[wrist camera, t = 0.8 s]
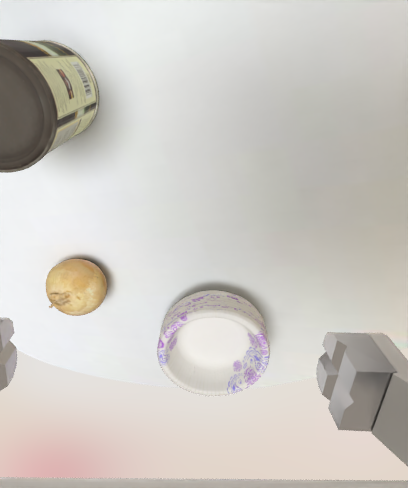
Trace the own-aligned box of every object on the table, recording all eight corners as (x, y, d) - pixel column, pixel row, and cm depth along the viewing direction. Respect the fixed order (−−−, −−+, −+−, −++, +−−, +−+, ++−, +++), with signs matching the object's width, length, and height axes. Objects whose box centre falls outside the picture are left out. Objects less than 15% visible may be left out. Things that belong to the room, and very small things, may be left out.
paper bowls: (159, 278, 53) (152, 312, 46) (266, 278, 53) (275, 312, 46) (165, 357, 60) (159, 398, 53) (259, 357, 60) (266, 398, 53)
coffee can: (-11, 91, 42) (-104, 107, 30) (42, 17, 39) (-37, 0, 26) (63, 156, 45) (8, 196, 33) (118, 94, 42) (80, 112, 30)
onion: (96, 244, 51) (80, 271, 45) (120, 290, 54) (108, 321, 48) (44, 260, 52) (22, 289, 46) (71, 304, 56) (54, 336, 49)
